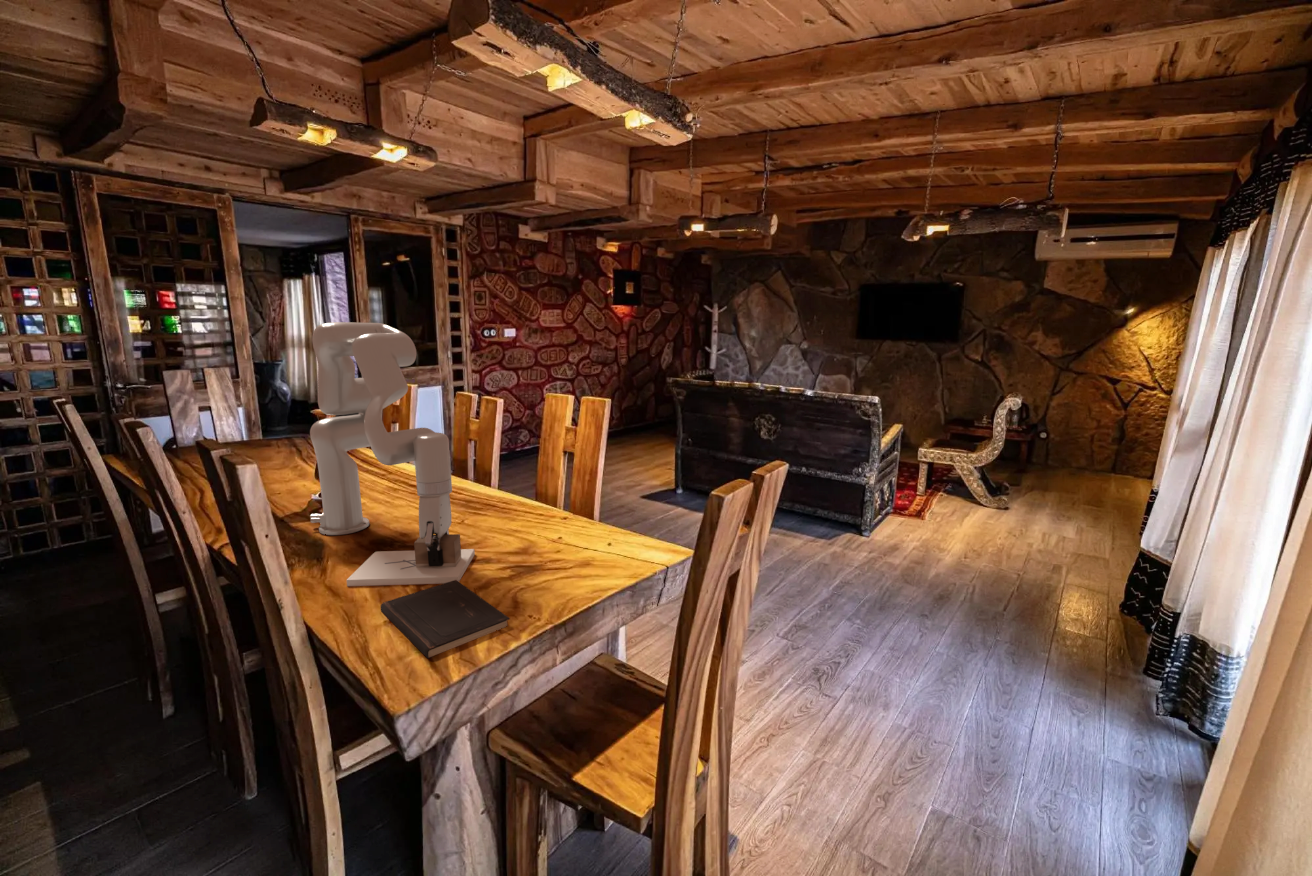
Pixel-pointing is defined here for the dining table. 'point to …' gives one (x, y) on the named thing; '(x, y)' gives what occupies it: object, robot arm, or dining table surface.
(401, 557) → the board
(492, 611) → the hardcover book
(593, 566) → the dining table surface
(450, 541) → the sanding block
